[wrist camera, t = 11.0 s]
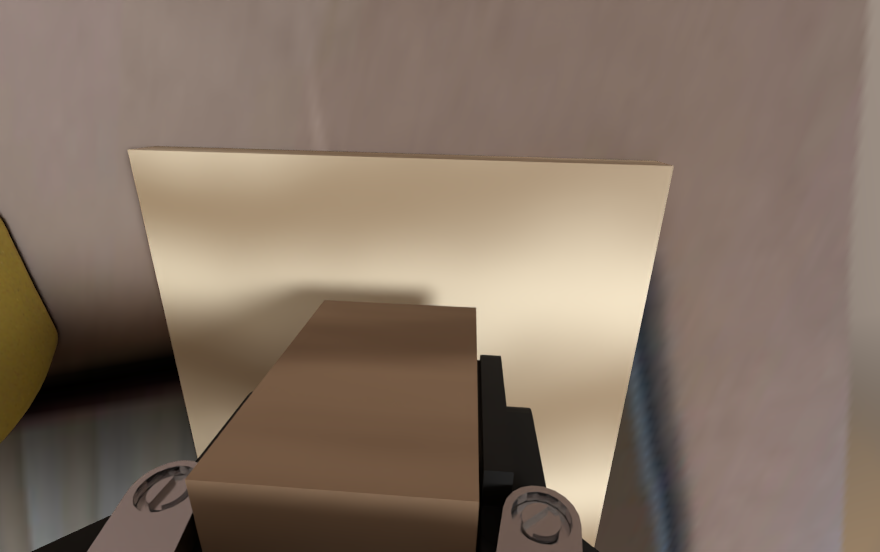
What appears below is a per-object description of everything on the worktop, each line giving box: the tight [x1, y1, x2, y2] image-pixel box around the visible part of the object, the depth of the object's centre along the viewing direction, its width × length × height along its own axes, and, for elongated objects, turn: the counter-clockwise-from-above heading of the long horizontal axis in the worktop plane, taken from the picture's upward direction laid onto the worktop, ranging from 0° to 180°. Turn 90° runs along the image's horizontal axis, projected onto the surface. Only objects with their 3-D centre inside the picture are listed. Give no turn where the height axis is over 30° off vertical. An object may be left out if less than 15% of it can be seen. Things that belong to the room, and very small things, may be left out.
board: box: [128, 146, 674, 547], centre depth 18 cm, size 28×15×1 cm, turn 178°
